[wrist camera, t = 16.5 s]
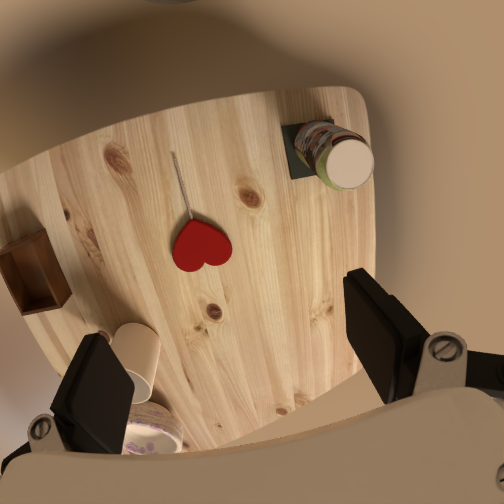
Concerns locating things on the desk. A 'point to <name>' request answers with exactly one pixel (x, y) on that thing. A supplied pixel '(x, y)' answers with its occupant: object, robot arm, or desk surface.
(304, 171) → the coaster
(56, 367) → the desk surface
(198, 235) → the lollipop
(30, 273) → the wooden box
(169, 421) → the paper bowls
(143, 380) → the mug
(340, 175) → the beverage can
